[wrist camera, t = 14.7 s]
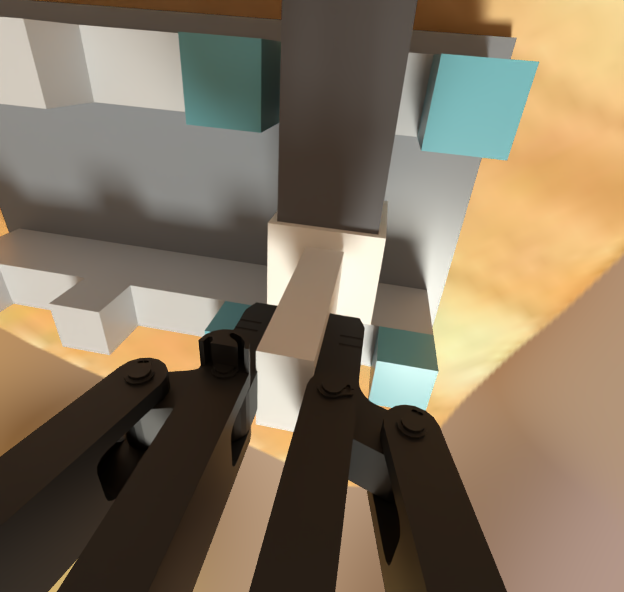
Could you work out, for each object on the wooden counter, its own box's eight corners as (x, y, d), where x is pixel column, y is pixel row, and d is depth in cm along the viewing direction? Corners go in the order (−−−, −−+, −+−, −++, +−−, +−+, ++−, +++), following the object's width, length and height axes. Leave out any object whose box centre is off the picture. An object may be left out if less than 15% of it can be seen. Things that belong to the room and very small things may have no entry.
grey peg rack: (-60, -6, 23) (-285, -38, 15) (511, 38, 19) (587, 25, 12) (33, 267, 32) (-78, 331, 25) (427, 332, 29) (439, 430, 21)
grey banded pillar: (301, -1, 15) (269, -22, 11) (421, 6, 15) (431, -13, 11) (285, 367, 25) (266, 422, 21) (357, 379, 25) (350, 438, 21)
